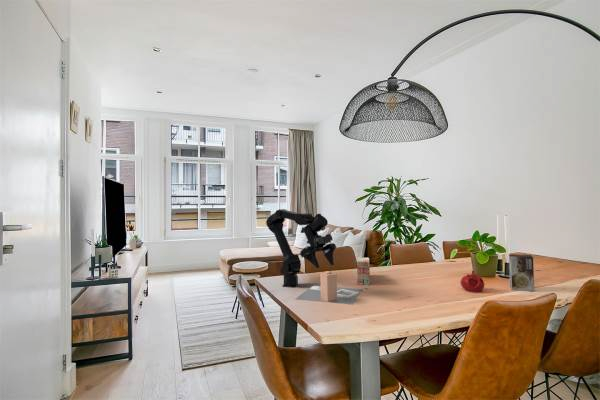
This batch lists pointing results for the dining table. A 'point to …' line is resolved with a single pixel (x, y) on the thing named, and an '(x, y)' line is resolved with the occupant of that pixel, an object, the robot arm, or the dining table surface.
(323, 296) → the column block
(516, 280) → the coffee box
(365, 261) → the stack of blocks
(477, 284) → the pomegranate
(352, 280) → the dining table surface
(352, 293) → the board
